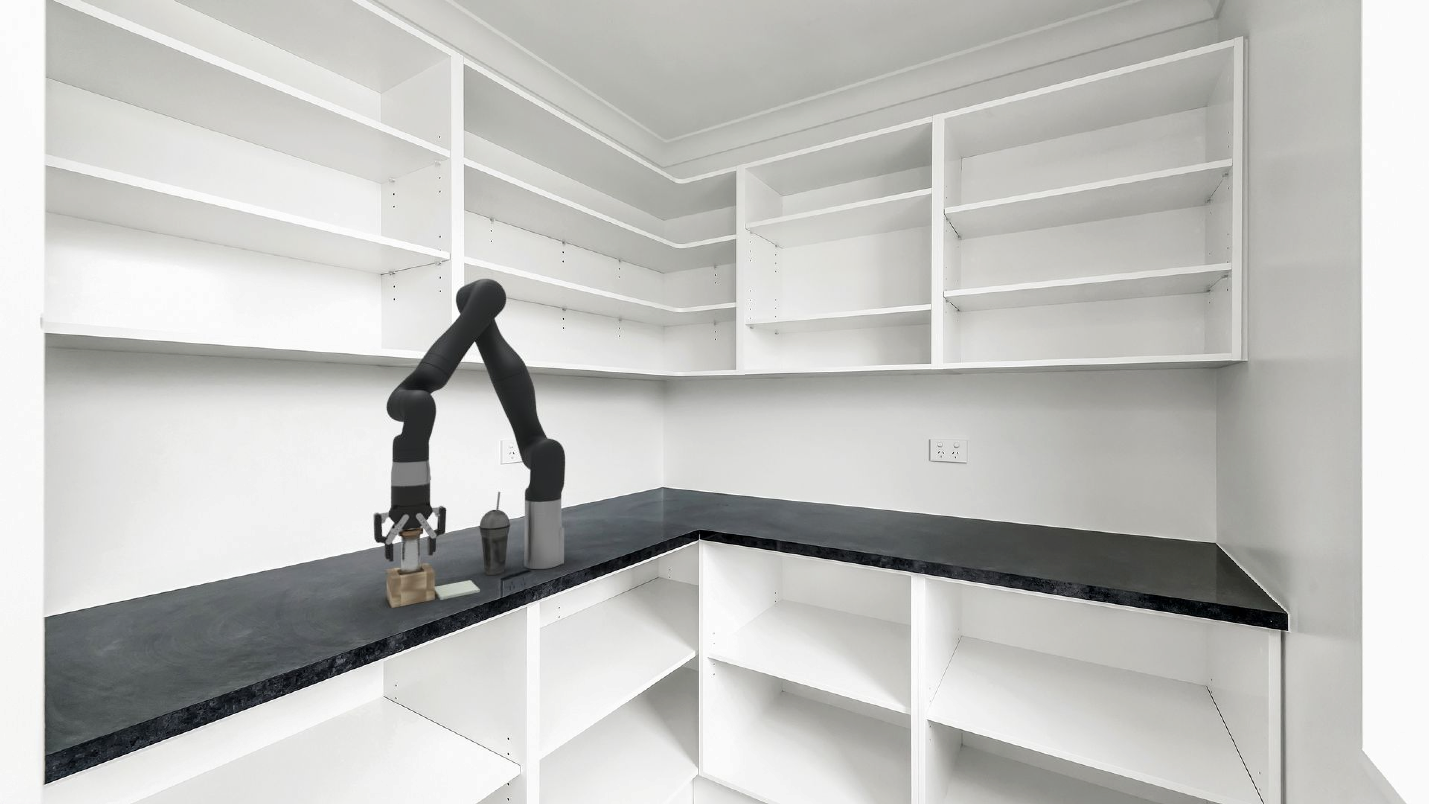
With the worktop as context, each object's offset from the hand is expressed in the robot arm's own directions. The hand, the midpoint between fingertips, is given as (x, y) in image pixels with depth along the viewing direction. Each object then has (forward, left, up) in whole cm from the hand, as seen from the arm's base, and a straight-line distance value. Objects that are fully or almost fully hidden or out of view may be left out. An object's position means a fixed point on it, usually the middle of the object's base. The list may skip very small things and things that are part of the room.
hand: (410, 557), depth 120 cm
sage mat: (-9, +1, -9) cm, 13 cm away
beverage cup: (-20, -8, -9) cm, 23 cm away
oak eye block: (0, 0, -9) cm, 9 cm away
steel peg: (0, 0, -9) cm, 9 cm away
